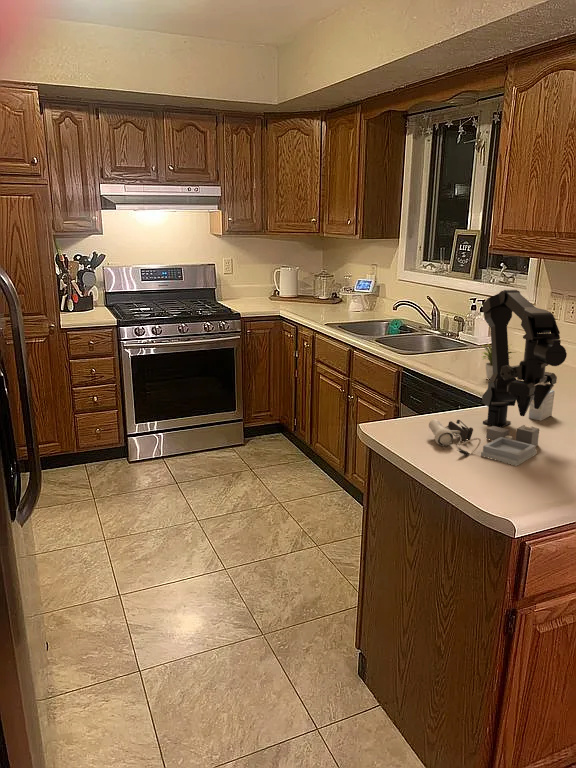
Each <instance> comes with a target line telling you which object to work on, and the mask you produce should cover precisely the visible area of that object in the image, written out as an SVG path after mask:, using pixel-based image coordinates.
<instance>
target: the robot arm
mask: <svg viewBox="0 0 576 768" xmlns="http://www.w3.org/2000/svg"><path fill="white" fill-rule="evenodd" d="M482 313H483V317H484V321H485V322H486V323H487V325H488V326H489V328H490V341H491V342H490V343H491V344H490V345H491V347H492V364H493V375H492V377H491V378H490V380H488V383H487V389H486V390H485V392H484V393H483V394H482V396H481V397H482V398H481V399H482V404H484V405H485V406H487V408H488V409H487V419H485V420H483V421H482V423H483V424H485V423H486V425H489V424H490V426H496V427H500V428H504V427H506V426H507V425H510V424H511V423H512V421H510V420H508V407H515V405H516V404H517V408H518V412H519V416H520V417H525V416H526V414H527V413H528V410H529V409H530V403H531V401H532V399H533V397H534V408H535V409H539V408H540V406H541V404H542V403H543V401H544V400H545V398H546V396H547V395H548V393H549V392H550V390H552V389H553V388H554V386H555V384H557V381H558V376H557V375H556V374H555V373H554V372H549V371H546V367H548V366H551V367H559V366H561V365H562V364H563V363H565V361H566V359H567V356H568V353H567V349H566V348H565V347H564V346H563V345H561V340H560V339H561V336H560V333H561V332H560V330H559V327H558V325H557V322H556V318H555V315H554V314H553V313H552V312H551V311H549V310H547V309H543V308H538V307H536V306H535V305H533V303H531V302H530V301H529V300H527V298H525V297H524V295H522V294H521V292H520V290H518V289H503V290H501V291H500V292H498V293H497V294H495V295H492V296H489V297H488V298H486V300H485V301H484V302H483V303H482ZM513 314H515V315H516V316H517V317H518V318H519V319H520V320H521V322H520V323H521V324H520V326H521V327H522V329H523V331H524V332H525V334H523V335H522V338H523V339H524V340H525V344H524V345H525V346H524V352H523V353H524V355H523V360H521V361H520V362H519V364H518V365H513V366H511V365H510V359H509V358H510V357H509V356H510V353H509V352H510V351H509V346H508V345H509V337H508V336H509V335H508V326H509V325H508V324H509V323H510V322H511V320H512V317H513ZM533 393H534V394H533Z"/></svg>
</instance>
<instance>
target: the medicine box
mask: <svg viewBox="0 0 576 768" xmlns="http://www.w3.org/2000/svg"><path fill="white" fill-rule="evenodd" d="M533 394H534V393H533ZM554 399H555V390H552V389H551V390H550V392H549V393H548V395H547V396H546V398H545V400H544V401H543V403H542V404H541V406H540V408H539V409H535V408H534V397H533V399H532V401H531V403H530V406H529V408H528V410H529V411H528V419H531V420H536V421H541V422H542V421H543V420H545V419H547V418H550V416H552V413H553V409H554V408H553V407H554Z"/></svg>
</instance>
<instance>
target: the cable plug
mask: <svg viewBox="0 0 576 768" xmlns="http://www.w3.org/2000/svg"><path fill="white" fill-rule="evenodd" d="M499 437H503V438H507V439H511V440H514V438H513V437H514V436H511V435H510V429H508V428H504V427H497V426H493V425H490V426H489V427H487V428H486V438H487V439H490V440H493V441H494V440H496V439H498V438H499ZM490 440H489V441H490Z"/></svg>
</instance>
